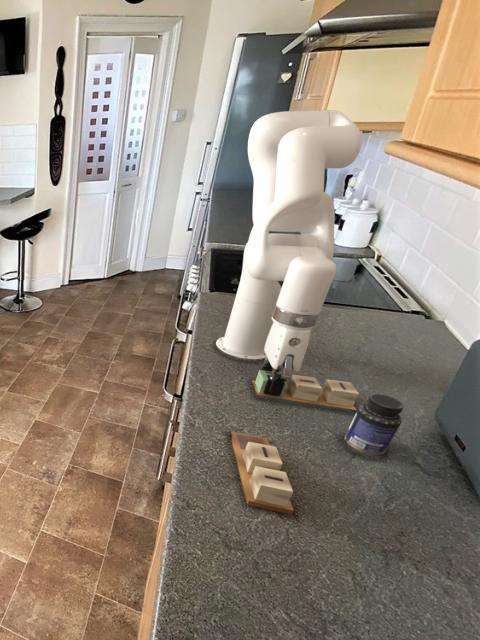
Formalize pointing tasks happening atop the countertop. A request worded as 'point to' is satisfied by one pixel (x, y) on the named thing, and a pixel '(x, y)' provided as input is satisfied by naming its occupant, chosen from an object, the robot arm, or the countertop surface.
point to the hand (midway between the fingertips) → (268, 387)
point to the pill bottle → (375, 424)
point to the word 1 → (262, 473)
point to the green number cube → (264, 380)
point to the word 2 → (318, 392)
